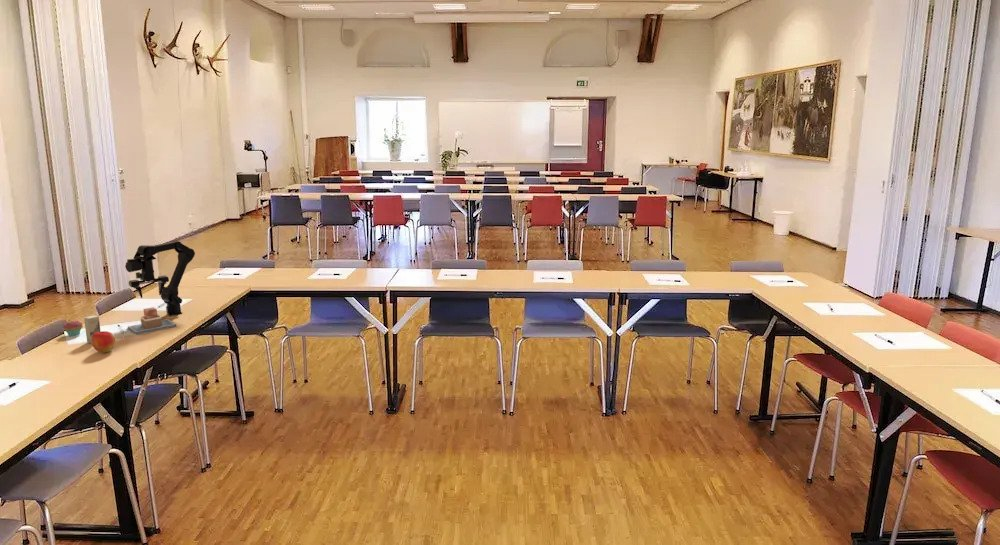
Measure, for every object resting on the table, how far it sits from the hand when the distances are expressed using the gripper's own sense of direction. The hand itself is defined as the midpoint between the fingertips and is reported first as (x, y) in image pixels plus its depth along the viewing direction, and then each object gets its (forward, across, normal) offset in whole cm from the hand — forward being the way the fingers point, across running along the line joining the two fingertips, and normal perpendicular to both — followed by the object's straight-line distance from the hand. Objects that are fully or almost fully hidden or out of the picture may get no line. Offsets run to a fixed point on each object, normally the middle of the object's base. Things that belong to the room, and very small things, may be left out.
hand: (150, 296), depth 360 cm
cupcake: (+13, +38, +1) cm, 40 cm away
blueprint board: (+13, +5, +15) cm, 20 cm away
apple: (+13, +33, +41) cm, 54 cm away
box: (+13, +33, +21) cm, 41 cm away
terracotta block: (+8, +5, +15) cm, 18 cm away
